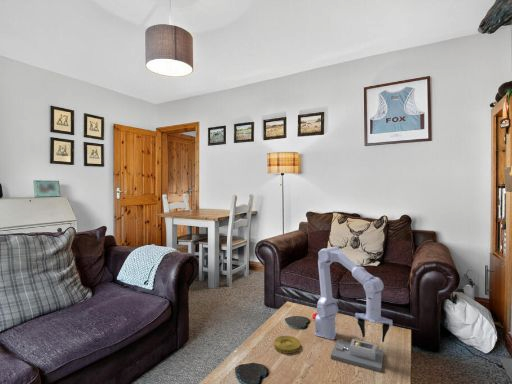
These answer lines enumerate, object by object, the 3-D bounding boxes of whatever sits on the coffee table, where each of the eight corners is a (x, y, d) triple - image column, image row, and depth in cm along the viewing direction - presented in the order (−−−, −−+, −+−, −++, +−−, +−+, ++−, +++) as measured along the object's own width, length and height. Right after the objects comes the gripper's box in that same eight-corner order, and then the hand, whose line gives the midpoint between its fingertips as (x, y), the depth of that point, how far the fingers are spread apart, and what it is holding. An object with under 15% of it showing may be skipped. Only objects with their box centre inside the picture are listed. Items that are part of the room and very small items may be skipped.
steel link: (350, 354, 123) (350, 345, 123) (352, 347, 129) (352, 338, 129) (375, 361, 119) (375, 351, 119) (376, 353, 124) (376, 344, 124)
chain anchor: (335, 349, 127) (335, 347, 127) (337, 345, 131) (337, 342, 131) (347, 352, 125) (347, 350, 125) (349, 347, 128) (349, 345, 128)
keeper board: (330, 358, 123) (330, 345, 123) (337, 342, 136) (337, 330, 136) (381, 372, 114) (381, 358, 114) (383, 353, 126) (383, 341, 126)
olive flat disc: (305, 351, 129) (305, 346, 129) (281, 357, 125) (281, 352, 125) (292, 338, 140) (292, 333, 140) (270, 343, 136) (270, 338, 136)
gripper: (354, 307, 121) (354, 338, 122) (392, 314, 114) (391, 347, 115) (356, 301, 127) (356, 331, 128) (392, 307, 121) (392, 339, 121)
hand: (373, 338), depth 122 cm, fingers open, 7 cm apart
